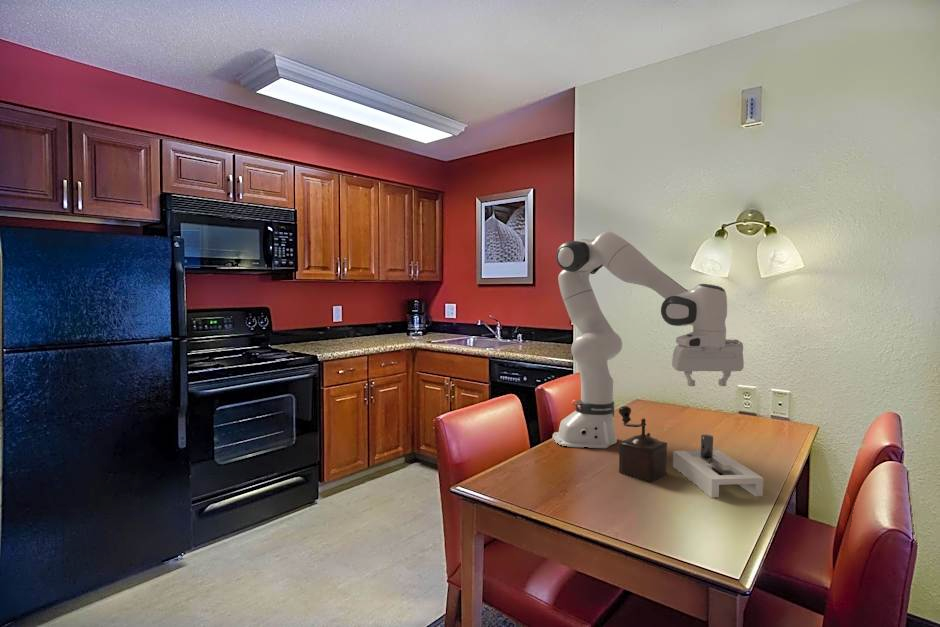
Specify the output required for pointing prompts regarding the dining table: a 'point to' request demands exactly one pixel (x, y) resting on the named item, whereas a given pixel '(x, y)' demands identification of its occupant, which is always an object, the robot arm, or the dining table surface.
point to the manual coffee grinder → (641, 453)
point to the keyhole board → (710, 480)
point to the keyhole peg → (707, 448)
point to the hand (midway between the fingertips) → (706, 385)
